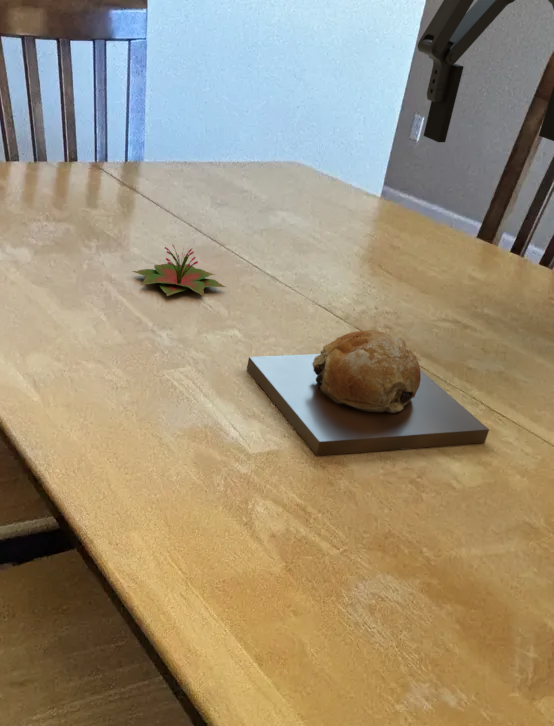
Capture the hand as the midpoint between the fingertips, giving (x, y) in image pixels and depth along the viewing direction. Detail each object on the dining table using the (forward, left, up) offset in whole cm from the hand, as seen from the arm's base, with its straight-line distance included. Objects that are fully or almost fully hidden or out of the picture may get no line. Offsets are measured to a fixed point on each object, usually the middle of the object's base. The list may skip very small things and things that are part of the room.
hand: (493, 139), depth 87 cm
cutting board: (+14, +10, -23) cm, 29 cm away
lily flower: (+23, -24, -24) cm, 41 cm away
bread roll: (+14, +10, -22) cm, 28 cm away
